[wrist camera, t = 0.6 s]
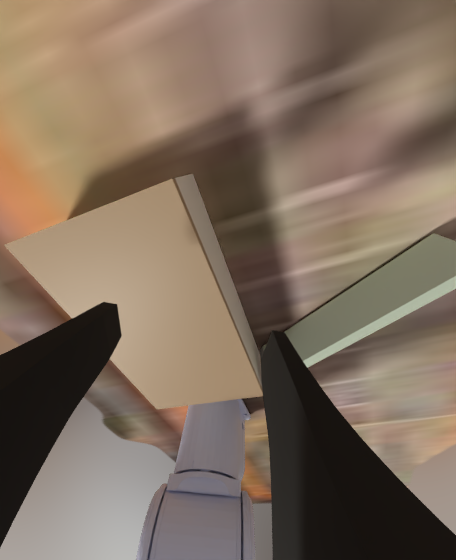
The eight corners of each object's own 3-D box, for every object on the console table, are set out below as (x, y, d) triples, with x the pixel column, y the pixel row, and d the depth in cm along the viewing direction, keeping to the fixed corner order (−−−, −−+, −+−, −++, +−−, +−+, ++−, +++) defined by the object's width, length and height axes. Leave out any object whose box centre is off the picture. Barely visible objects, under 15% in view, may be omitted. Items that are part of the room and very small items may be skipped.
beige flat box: (259, 353, 24) (263, 395, 19) (170, 368, 26) (156, 409, 22) (192, 173, 14) (172, 178, 10) (64, 224, 17) (3, 245, 13)
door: (268, 356, 23) (273, 391, 20) (257, 349, 23) (260, 383, 19) (443, 248, 16) (503, 273, 12) (433, 232, 15) (492, 254, 12)
